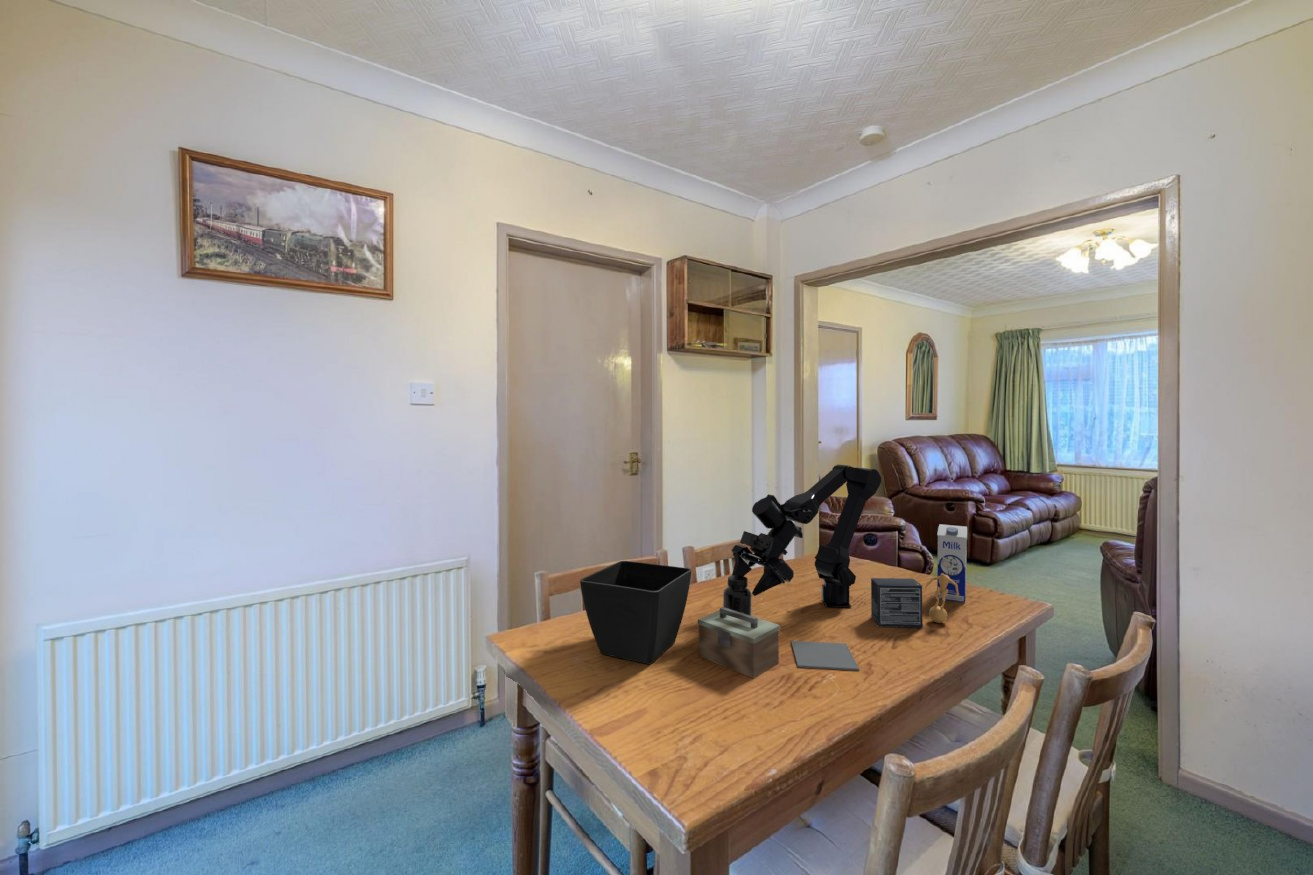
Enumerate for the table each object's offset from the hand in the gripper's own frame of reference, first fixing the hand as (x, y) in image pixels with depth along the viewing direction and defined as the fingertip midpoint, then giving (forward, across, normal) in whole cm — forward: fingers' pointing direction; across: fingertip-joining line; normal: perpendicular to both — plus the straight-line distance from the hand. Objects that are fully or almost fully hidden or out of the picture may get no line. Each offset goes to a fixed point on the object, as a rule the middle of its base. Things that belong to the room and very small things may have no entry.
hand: (741, 589), depth 130 cm
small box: (-18, +17, +31) cm, 40 cm away
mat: (+2, +22, +10) cm, 24 cm away
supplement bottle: (+7, 0, +6) cm, 9 cm away
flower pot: (+26, 0, -13) cm, 29 cm away
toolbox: (+15, +15, -2) cm, 21 cm away
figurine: (-26, +21, +38) cm, 50 cm away
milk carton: (-39, +12, +51) cm, 66 cm away
